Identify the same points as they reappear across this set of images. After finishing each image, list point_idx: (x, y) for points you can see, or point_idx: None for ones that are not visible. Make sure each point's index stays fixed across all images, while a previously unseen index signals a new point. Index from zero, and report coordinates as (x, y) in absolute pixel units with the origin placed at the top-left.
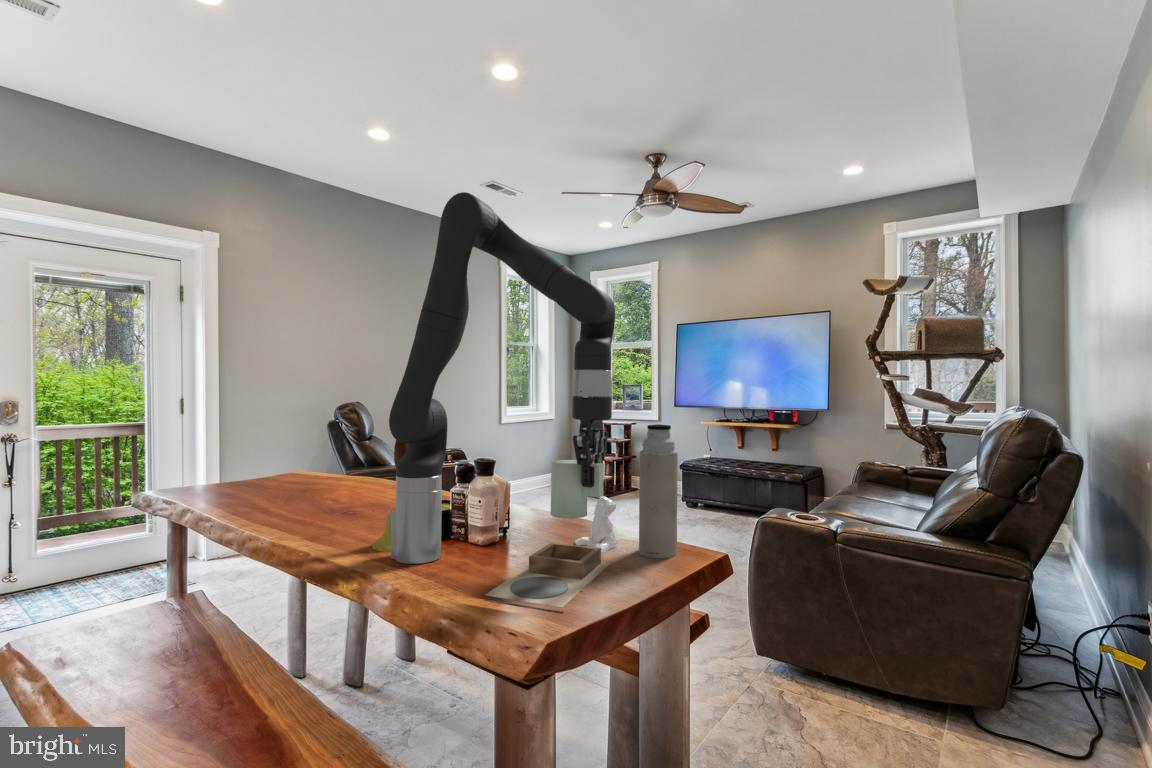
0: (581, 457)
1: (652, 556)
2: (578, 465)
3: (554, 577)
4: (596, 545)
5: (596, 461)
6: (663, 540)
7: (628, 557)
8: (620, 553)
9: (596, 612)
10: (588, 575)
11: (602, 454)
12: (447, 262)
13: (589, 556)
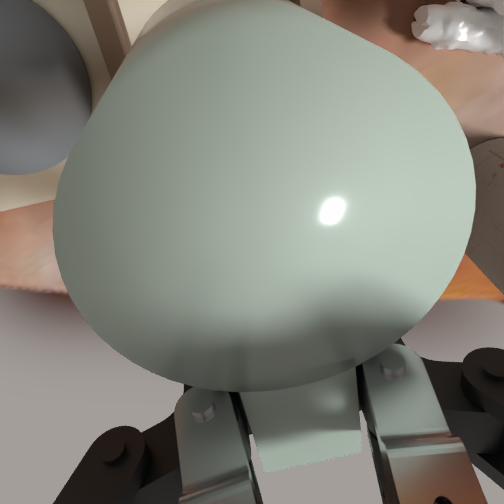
0: (183, 468)
1: None
2: (188, 376)
3: (104, 66)
4: (450, 26)
5: (369, 424)
6: (470, 258)
7: (459, 121)
8: (495, 76)
9: (32, 264)
10: None
11: (482, 466)
12: None
13: None
